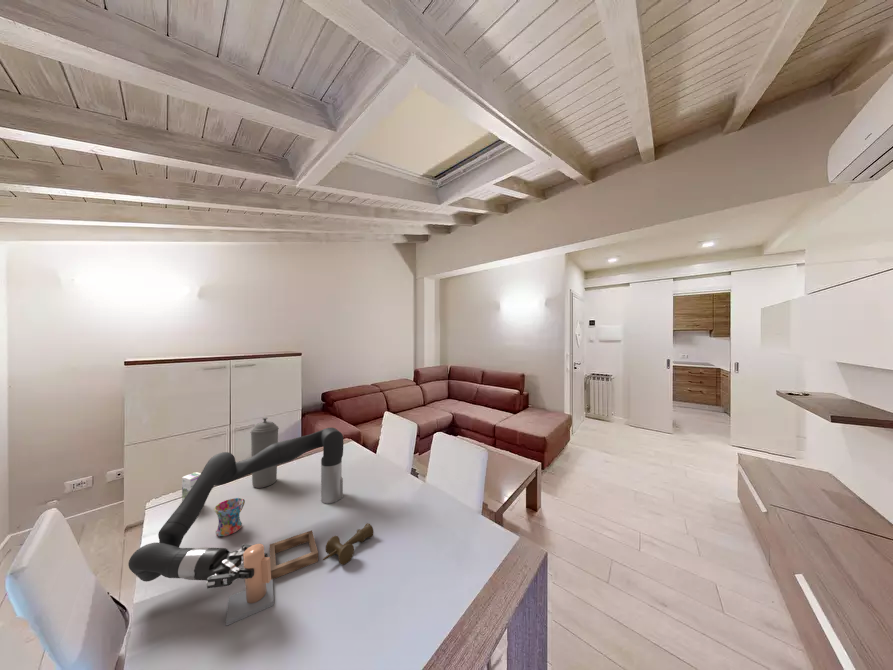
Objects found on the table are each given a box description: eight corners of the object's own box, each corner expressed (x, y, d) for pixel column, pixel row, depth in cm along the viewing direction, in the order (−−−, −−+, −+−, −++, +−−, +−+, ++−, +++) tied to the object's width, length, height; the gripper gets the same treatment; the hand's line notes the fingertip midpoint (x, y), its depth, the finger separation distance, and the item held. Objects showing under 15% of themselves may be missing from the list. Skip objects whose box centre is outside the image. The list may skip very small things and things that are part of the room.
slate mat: (272, 582, 90) (272, 579, 90) (273, 605, 83) (273, 600, 83) (229, 600, 84) (229, 596, 84) (225, 625, 77) (225, 621, 77)
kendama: (378, 542, 109) (330, 575, 93) (362, 532, 115) (314, 563, 99) (378, 525, 110) (331, 556, 93) (362, 517, 115) (315, 545, 99)
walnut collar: (312, 537, 111) (312, 530, 111) (318, 561, 99) (318, 552, 99) (269, 552, 103) (269, 544, 103) (270, 580, 91) (270, 570, 91)
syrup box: (204, 504, 134) (204, 473, 134) (189, 511, 128) (189, 478, 128) (196, 502, 136) (196, 471, 136) (181, 509, 130) (181, 476, 130)
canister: (272, 475, 162) (272, 413, 162) (282, 481, 154) (283, 416, 155) (246, 484, 152) (246, 418, 152) (256, 492, 144) (256, 422, 144)
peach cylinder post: (242, 603, 82) (238, 557, 81) (254, 586, 87) (251, 543, 86) (265, 603, 82) (262, 558, 81) (276, 587, 87) (273, 544, 86)
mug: (229, 539, 110) (229, 512, 110) (207, 537, 111) (208, 510, 111) (254, 520, 122) (254, 495, 122) (234, 518, 123) (234, 493, 123)
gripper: (223, 557, 91) (275, 559, 91) (180, 598, 77) (241, 600, 76) (224, 533, 92) (275, 535, 91) (180, 570, 77) (241, 572, 77)
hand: (259, 565), depth 84 cm, fingers closed on peach cylinder post, 5 cm apart
